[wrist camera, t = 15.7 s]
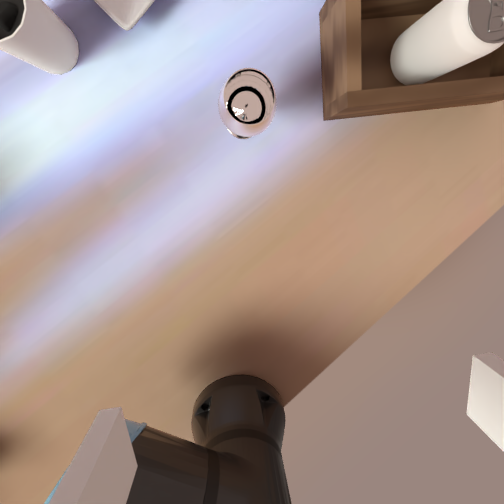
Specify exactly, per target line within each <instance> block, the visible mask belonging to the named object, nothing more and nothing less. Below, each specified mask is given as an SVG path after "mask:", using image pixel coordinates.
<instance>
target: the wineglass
mask: <svg viewBox="0 0 504 504" xmlns="http://www.w3.org/2000/svg"><path fill="white" fill-rule="evenodd" d="M276 106H277V98H276V92H275V89H274V86H273V84H272V82H271V80H270V79H269V78H268V77H267V76H266V74H264V73H263V72H261V71H260V70H257V69H254V68H244V69H240V70H238V71H236V72H234V73H233V74H232V75H230V76H229V77H228V79H227V80H226V81H225V82H224V84H223V86H222V88H221V90H220V93H219V98H218V109H219V114H220V117H221V119H222V121H223V123H224V125H225V126H226V127H227V129H228V131H229V132H230V133H231V134H232V135H233V136H234V137H236V138H238V139H248V138H250V137H252V136H256V135H258V134H260V133H262V132H263V131H265V130H266V129H267V128H268V126H269V125H270V124H271V122H272V120H273V118H274V116H275V112H276Z"/></svg>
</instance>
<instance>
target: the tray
mask: <svg viewBox="0 0 504 504" xmlns="http://www.w3.org/2000/svg"><path fill="white" fill-rule="evenodd" d="M94 1H95V2H96V3H97V4H98V5H99V6H100V7H101V8H102V9H103V10H104V11H105V12H106V13H107V14H108V15H109V16H110V17H111V18H112V19H113V20H114V21H115V22H116V23H117V24H118V25H119V26H120V27H121V28H123V29H124V30H127V31H128V30H130V29H132V28H133V27H134V25H135V24H136V23H137V22H138V21H139V19H140V18H141V17H142V16H143V15H144V13H145V12H146V11H147V10H148V9H149V7H150V6H151V5H152V3H153V2H154V1H155V0H94Z"/></svg>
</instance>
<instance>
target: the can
mask: <svg viewBox="0 0 504 504" xmlns="http://www.w3.org/2000/svg"><path fill="white" fill-rule="evenodd" d="M503 43H504V0H443V1H441V2H440V3H439V4H438V5H436V6H435V7H434V8H433V9H431V10H430V11H429V12H428V13H426V14H425V15H424V16H423V17H421V18H420V19H419V20H418V21H416V22H415V23H414V24H413V25H411V26H410V27H409V28H408V29H407V30H405V31H404V32H403V33H402V34H401V35H400V36H399V37H398V38H397V40H396V41H395V43H394V45H393V48H392V51H391V56H390V64H391V69H392V72H393V74H394V76H395V77H396V79H397V80H398V81H399V82H401V83H402V84H404V85H417V84H424V83H426V82H428V81H430V80H433V79H435V78H437V77H439V76H442V75H444V74H446V73H448V72H450V71H453V70H455V69H457V68H459V67H461V66H463V65H466V64H468V63H470V62H472V61H474V60H476V59H479V58H481V57H483V56H485V55H487V54H489V53H491V52H493V51H494V50H496V49H498V48H499V47H500V46H501V45H502V44H503Z"/></svg>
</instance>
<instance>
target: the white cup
mask: <svg viewBox="0 0 504 504" xmlns="http://www.w3.org/2000/svg"><path fill="white" fill-rule="evenodd" d="M0 50H2V51H4V52H6V53H8V54H10V55H12V56H14V57H17V58H19V59H21V60H23V61H25V62H27V63H29V64H31V65H33V66H35V67H38V68H40V69H42V70H44V71H46V72H48V73H50V74H60V75H62V74H64V73H67V72H69V71H71V69H72V68H73V67H74V66H75V65H76V63H77V60H78V56H79V48H78V42H77V40H76V38H75V36H74V34H73V32H72V31H71V30H70V29H69V28H68V27H67V26H66V24H65V23H64V22H63V21H62V20H61V19H60V18H59V17H58V16H57V15H56V14H55V13H54V12H53V11H52V10H51V9H50V8H49V7H48V6H47V5H46V4H45V3H44V2H43V1H42V0H0Z"/></svg>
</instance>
